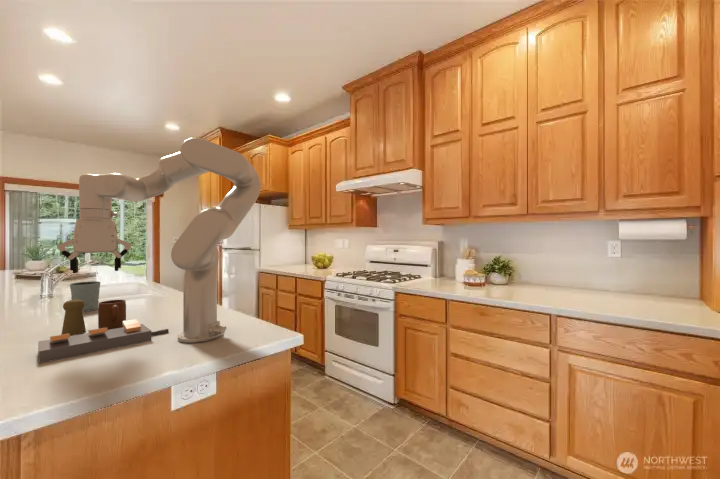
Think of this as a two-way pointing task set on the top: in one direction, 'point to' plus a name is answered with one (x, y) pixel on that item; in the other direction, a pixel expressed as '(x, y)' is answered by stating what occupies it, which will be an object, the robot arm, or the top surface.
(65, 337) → the rocker
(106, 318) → the mug
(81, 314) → the pepper mill
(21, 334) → the top surface
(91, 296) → the grey cup
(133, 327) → the block
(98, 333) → the middle rocker
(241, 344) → the top surface
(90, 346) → the power strip
